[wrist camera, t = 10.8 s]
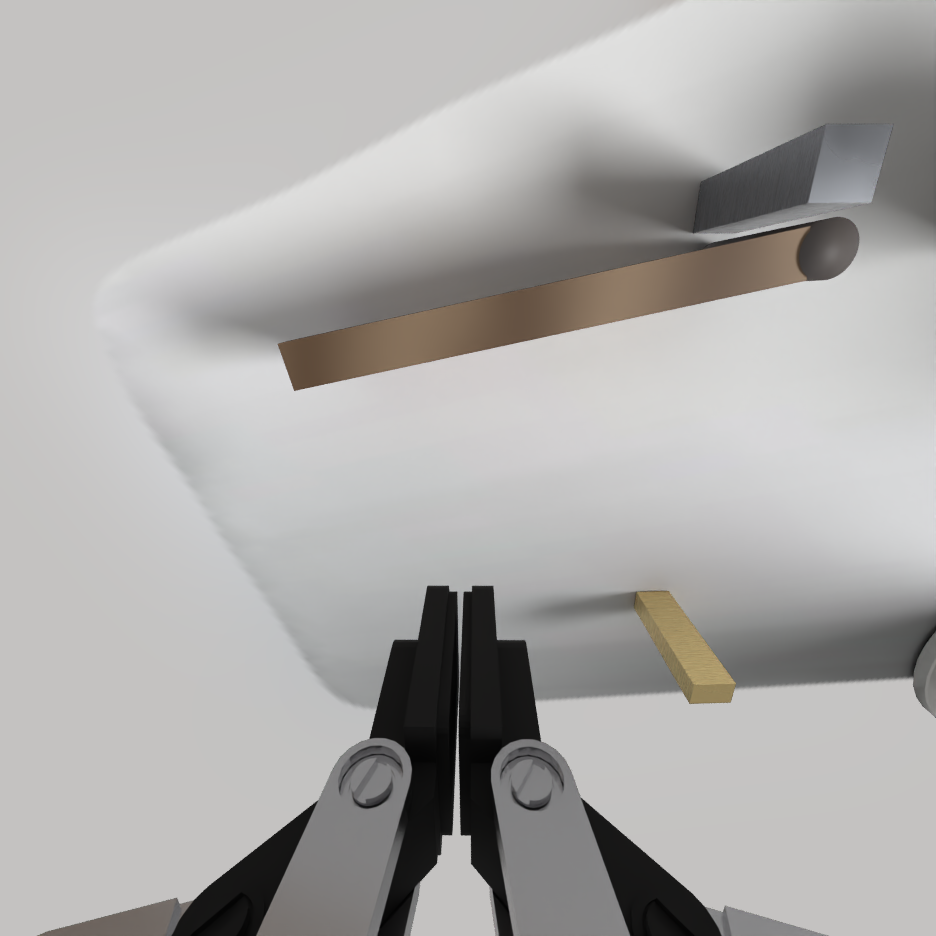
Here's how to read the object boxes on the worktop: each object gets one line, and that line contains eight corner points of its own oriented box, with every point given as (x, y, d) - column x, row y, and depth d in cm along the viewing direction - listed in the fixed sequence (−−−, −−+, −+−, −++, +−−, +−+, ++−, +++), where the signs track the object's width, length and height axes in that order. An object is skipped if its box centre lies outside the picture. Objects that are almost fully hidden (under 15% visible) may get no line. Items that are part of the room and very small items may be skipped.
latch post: (668, 591, 27) (735, 683, 21) (665, 606, 28) (730, 702, 21) (636, 591, 27) (694, 685, 21) (634, 607, 28) (689, 703, 21)
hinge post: (745, 181, 19) (893, 124, 13) (736, 232, 20) (871, 202, 14) (701, 182, 19) (826, 124, 13) (693, 233, 20) (807, 202, 14)
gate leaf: (735, 237, 20) (862, 211, 14) (734, 280, 20) (856, 273, 14) (328, 327, 21) (275, 341, 14) (340, 366, 21) (294, 394, 15)
